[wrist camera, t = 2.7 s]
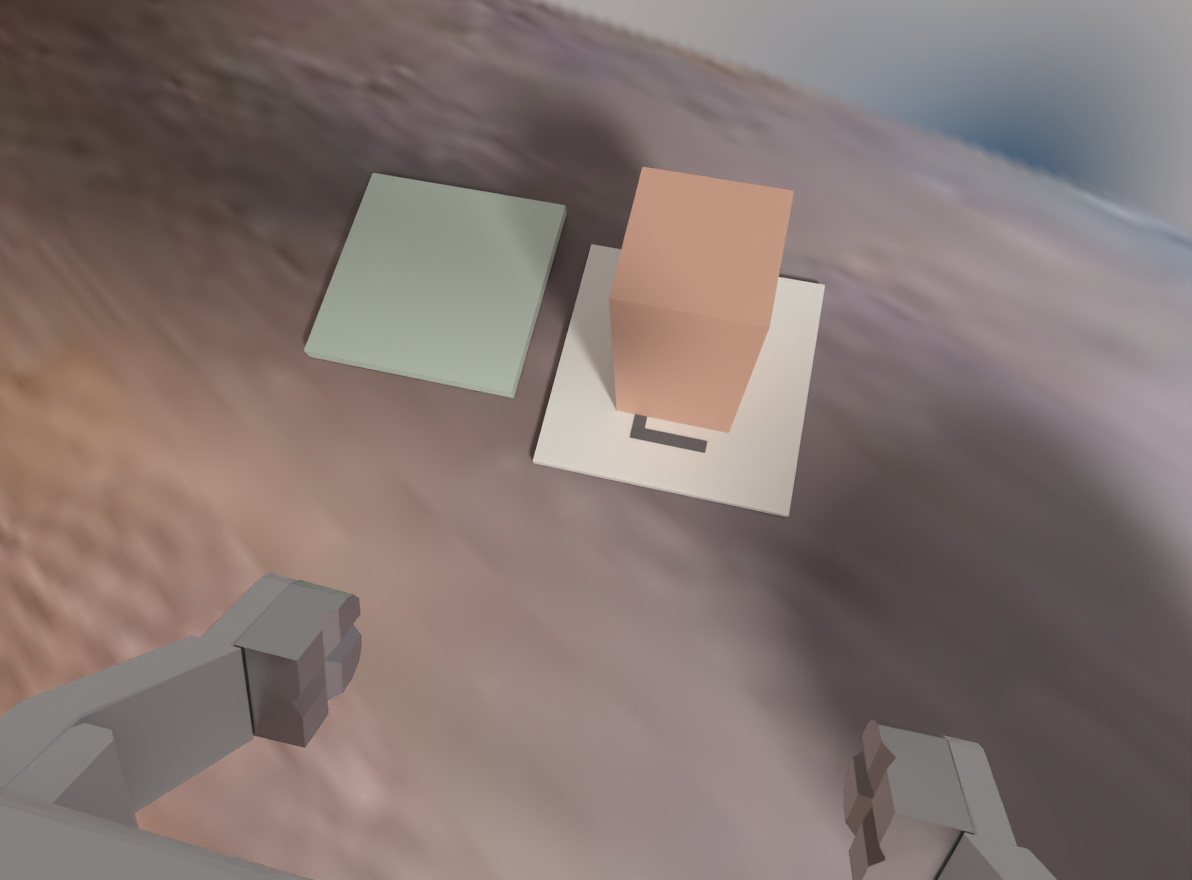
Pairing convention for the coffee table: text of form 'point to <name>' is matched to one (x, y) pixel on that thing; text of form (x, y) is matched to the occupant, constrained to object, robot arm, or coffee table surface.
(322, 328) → the coaster
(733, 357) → the block
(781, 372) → the tile
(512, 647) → the coffee table surface
